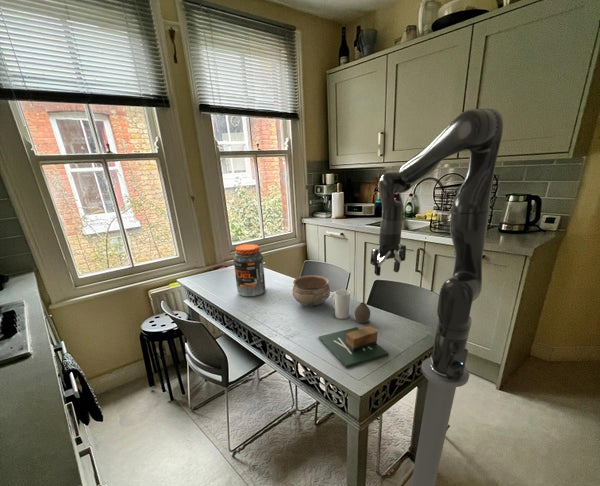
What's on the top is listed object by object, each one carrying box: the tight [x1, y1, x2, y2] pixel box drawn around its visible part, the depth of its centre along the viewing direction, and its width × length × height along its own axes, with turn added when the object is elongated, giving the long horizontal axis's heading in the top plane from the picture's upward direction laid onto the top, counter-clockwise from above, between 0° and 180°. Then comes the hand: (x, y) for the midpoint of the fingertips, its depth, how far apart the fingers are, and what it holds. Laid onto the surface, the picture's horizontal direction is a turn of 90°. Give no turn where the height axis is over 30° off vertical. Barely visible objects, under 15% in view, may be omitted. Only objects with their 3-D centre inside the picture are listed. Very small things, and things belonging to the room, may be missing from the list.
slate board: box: [318, 326, 389, 369], centre depth 123 cm, size 22×18×1 cm
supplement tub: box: [233, 243, 266, 297], centre depth 172 cm, size 16×16×26 cm
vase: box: [354, 302, 371, 324], centre depth 140 cm, size 7×7×9 cm
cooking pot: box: [291, 275, 331, 308], centre depth 158 cm, size 25×19×12 cm
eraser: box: [346, 325, 378, 352], centre depth 121 cm, size 11×5×6 cm, turn 117°
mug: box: [330, 289, 351, 320], centre depth 146 cm, size 10×7×12 cm, turn 41°
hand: (386, 273), depth 122 cm, fingers open, 8 cm apart
